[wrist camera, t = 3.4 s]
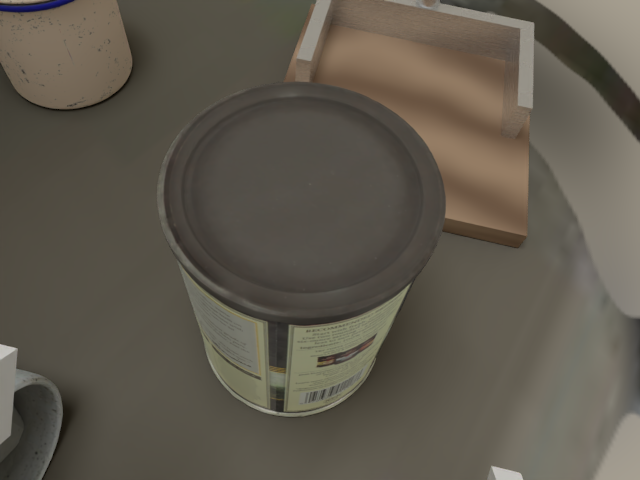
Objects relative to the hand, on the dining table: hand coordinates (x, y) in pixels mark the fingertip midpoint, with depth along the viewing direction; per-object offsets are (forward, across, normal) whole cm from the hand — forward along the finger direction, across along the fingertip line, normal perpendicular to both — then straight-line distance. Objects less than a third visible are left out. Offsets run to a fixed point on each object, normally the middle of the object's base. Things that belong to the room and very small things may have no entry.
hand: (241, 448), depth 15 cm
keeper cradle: (+31, +3, +13) cm, 34 cm away
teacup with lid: (+28, -23, +8) cm, 37 cm away
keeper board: (+29, +4, +9) cm, 31 cm away
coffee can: (+17, 0, -4) cm, 17 cm away
